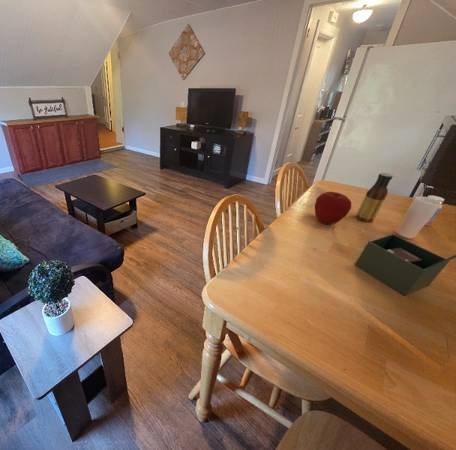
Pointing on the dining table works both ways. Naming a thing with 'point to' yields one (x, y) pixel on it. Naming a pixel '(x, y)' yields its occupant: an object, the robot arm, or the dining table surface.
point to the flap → (442, 261)
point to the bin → (399, 264)
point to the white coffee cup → (417, 216)
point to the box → (406, 256)
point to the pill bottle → (437, 210)
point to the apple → (332, 207)
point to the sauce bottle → (374, 198)
